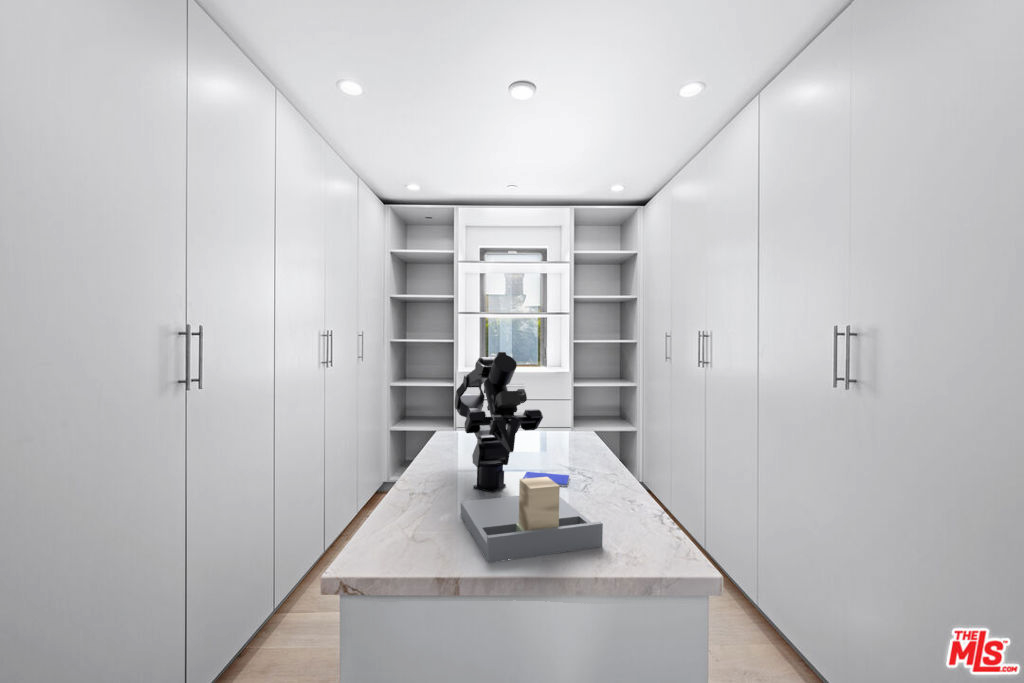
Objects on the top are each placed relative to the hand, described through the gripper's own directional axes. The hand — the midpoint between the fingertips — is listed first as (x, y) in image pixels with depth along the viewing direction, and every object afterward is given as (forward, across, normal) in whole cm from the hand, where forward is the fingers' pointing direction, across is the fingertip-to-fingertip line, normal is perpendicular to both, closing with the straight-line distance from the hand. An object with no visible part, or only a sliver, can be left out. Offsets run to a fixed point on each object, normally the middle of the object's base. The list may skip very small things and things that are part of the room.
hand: (511, 451), depth 108 cm
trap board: (+18, -1, +1) cm, 18 cm away
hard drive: (-2, +17, +22) cm, 28 cm away
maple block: (+20, -1, -6) cm, 21 cm away
